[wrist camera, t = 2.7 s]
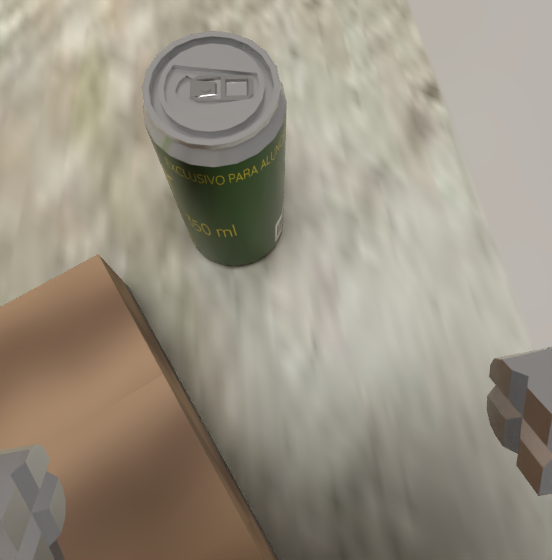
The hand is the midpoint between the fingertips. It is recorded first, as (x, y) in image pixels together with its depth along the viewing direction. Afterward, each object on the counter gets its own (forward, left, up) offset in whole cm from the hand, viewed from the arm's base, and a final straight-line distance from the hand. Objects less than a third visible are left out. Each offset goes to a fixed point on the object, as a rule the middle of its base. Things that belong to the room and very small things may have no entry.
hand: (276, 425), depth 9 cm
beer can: (+11, -4, -17) cm, 21 cm away
